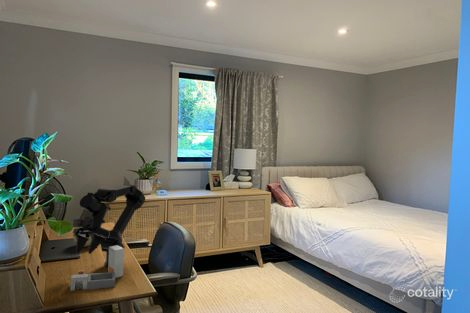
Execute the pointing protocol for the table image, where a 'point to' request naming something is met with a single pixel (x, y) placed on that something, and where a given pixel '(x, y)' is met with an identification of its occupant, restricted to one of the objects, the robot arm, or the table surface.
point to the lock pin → (79, 282)
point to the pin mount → (79, 277)
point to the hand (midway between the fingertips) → (83, 253)
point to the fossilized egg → (86, 242)
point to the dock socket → (101, 280)
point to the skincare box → (116, 260)
